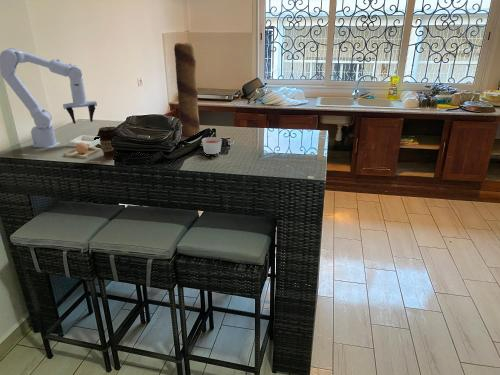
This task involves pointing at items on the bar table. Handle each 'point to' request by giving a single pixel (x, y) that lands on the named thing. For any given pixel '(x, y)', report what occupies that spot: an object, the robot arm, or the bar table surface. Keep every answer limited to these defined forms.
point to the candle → (211, 145)
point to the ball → (81, 147)
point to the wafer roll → (187, 88)
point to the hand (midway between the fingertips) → (83, 122)
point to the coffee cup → (107, 141)
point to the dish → (84, 141)
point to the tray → (85, 155)
